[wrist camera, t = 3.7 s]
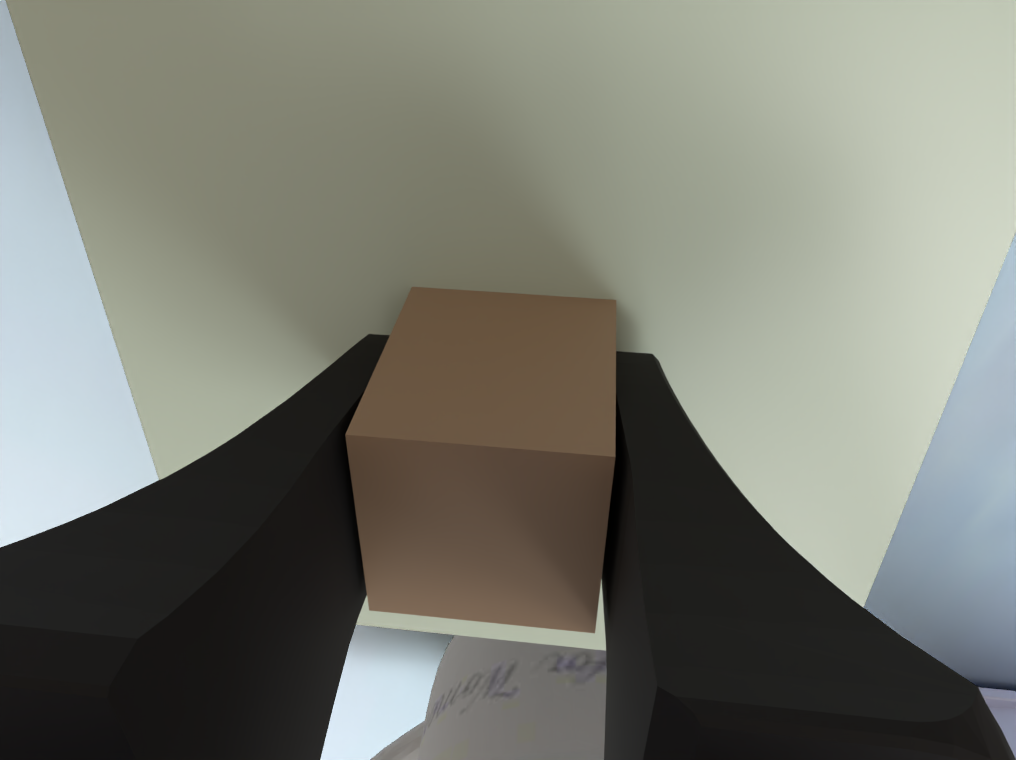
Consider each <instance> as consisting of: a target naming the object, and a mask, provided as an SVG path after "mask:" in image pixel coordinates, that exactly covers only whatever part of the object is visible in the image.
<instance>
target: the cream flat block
mask: <svg viewBox="0 0 1016 760" xmlns="http://www.w3.org/2000/svg"><path fill="white" fill-rule="evenodd" d="M6 3H7V6H8V9H9V12H10V16H11V19H12V22H13V25H14V28H15V31H16V34H17V37H18V41H19V44H20V47H21V50H22V53H23V56H24V59H25V62H26V66H27V69H28V72H29V75H30V78H31V81H32V84H33V87H34V90H35V94H36V97H37V100H38V103H39V106H40V109H41V112H42V115H43V119H44V122H45V125H46V128H47V131H48V134H49V137H50V140H51V144H52V147H53V150H54V153H55V156H56V159H57V162H58V165H59V169H60V172H61V175H62V178H63V181H64V184H65V187H66V190H67V194H68V197H69V200H70V203H71V206H72V209H73V212H74V215H75V218H76V222H77V225H78V228H79V231H80V234H81V237H82V240H83V243H84V247H85V250H86V253H87V256H88V259H89V262H90V265H91V268H92V272H93V275H94V278H95V281H96V284H97V287H98V290H99V293H100V297H101V300H102V303H103V306H104V309H105V312H106V315H107V318H108V321H109V325H110V328H111V331H112V334H113V337H114V340H115V343H116V346H117V350H118V353H119V356H120V359H121V362H122V365H123V368H124V371H125V375H126V378H127V381H128V384H129V387H130V390H131V393H132V396H133V400H134V403H135V406H136V409H137V412H138V415H139V418H140V421H141V425H142V428H143V431H144V434H145V437H146V440H147V443H148V446H149V449H150V453H151V456H152V459H153V462H154V465H155V468H156V471H157V474H158V478H159V480H161V479H163V478H165V477H167V476H169V475H171V474H172V473H174V472H176V471H178V470H180V469H182V468H183V467H185V466H187V465H189V464H190V463H192V462H194V461H195V460H197V459H199V458H201V457H202V456H204V455H206V454H208V453H209V452H211V451H213V450H214V449H216V448H217V447H219V446H221V445H222V444H224V443H226V442H227V441H229V440H230V439H232V438H233V437H235V436H236V435H238V434H239V433H241V432H242V431H244V430H245V429H246V428H248V427H249V426H251V425H252V424H253V423H255V422H256V421H258V420H259V419H260V418H262V417H263V416H265V415H266V414H268V413H269V412H270V411H272V410H273V409H275V408H276V407H277V406H279V405H280V404H282V403H283V402H284V401H286V400H287V399H288V398H290V397H291V396H292V395H294V394H295V393H296V392H297V391H299V390H300V389H301V388H302V387H304V386H305V385H306V384H307V383H309V382H310V381H311V380H312V379H314V378H315V377H316V376H317V375H319V374H320V373H321V372H323V371H324V370H325V369H326V368H327V367H329V366H330V365H331V364H332V363H333V362H335V361H336V360H337V359H338V358H339V357H341V356H342V355H343V354H344V353H345V352H347V351H348V350H349V349H350V348H352V347H353V346H354V345H355V344H356V343H358V342H359V341H360V340H361V339H363V338H364V337H365V336H367V335H368V334H379V335H390V336H389V339H388V341H387V343H386V345H385V347H384V350H383V352H382V354H381V356H380V359H379V361H378V363H377V365H376V367H375V370H374V372H373V374H372V376H371V378H370V381H369V383H368V385H367V387H366V390H365V392H364V394H363V396H362V398H361V401H360V403H359V405H358V407H357V410H356V412H355V414H354V416H353V418H352V421H351V423H350V425H349V427H348V430H347V432H346V434H345V437H346V444H347V451H348V459H349V466H350V473H351V481H352V488H353V496H354V503H355V510H356V518H357V525H358V532H359V540H360V547H361V554H362V562H363V569H364V577H365V584H366V591H367V596H366V599H365V601H364V604H363V606H362V609H361V612H360V614H359V617H358V620H357V623H356V625H363V626H373V627H383V628H392V629H402V630H412V631H421V632H431V633H441V634H450V635H460V636H470V637H479V638H489V639H499V640H508V641H518V642H528V643H537V644H547V645H557V646H566V647H576V648H585V649H595V650H605V651H606V638H605V623H604V609H603V594H602V580H601V577H602V568H603V560H604V551H605V542H606V534H607V525H608V516H609V508H610V499H611V490H612V482H613V473H614V464H615V437H616V351H622V352H636V353H650V354H653V355H654V356H655V357H656V358H657V359H658V360H659V362H660V365H661V367H662V369H663V371H664V373H665V376H666V378H667V380H668V382H669V384H670V386H671V388H672V389H673V391H674V393H675V395H676V397H677V399H678V400H679V402H680V404H681V406H682V407H683V409H684V411H685V412H686V414H687V416H688V417H689V419H690V421H691V422H692V424H693V425H694V427H695V428H696V430H697V431H698V433H699V435H700V436H701V438H702V439H703V441H704V442H705V444H706V445H707V447H708V448H709V450H710V451H711V452H712V454H713V455H714V457H715V458H716V460H717V461H718V462H719V464H720V465H721V466H722V468H723V469H724V470H725V472H726V473H727V474H728V476H729V477H730V478H731V480H732V481H733V482H734V483H735V485H736V486H737V487H738V488H739V490H740V491H741V492H742V493H743V495H744V496H745V497H746V498H747V499H748V501H749V502H750V503H751V504H752V505H753V506H754V508H755V509H756V510H757V511H758V512H759V513H760V514H761V515H762V516H763V517H764V519H765V520H766V521H767V522H768V523H769V524H770V525H771V526H772V527H773V528H774V529H775V531H776V532H777V533H778V534H779V535H780V536H781V537H782V538H783V539H784V540H785V541H786V542H787V543H789V544H790V545H791V546H792V547H793V548H794V549H795V550H796V551H797V552H798V553H799V554H801V555H802V556H803V557H804V558H805V559H806V560H807V561H808V562H809V563H811V564H812V565H813V566H814V567H815V568H816V569H817V570H818V571H819V572H821V573H822V574H823V575H824V576H825V577H826V578H827V579H828V580H830V581H831V582H832V583H833V584H834V585H836V586H837V587H838V588H839V589H840V590H842V591H843V592H844V593H845V594H846V595H848V596H849V597H850V598H851V599H853V600H854V601H855V602H857V603H858V604H859V605H860V606H862V607H864V605H865V602H866V600H867V598H868V595H869V593H870V590H871V588H872V585H873V583H874V580H875V578H876V575H877V573H878V570H879V568H880V566H881V563H882V561H883V558H884V556H885V553H886V551H887V548H888V546H889V543H890V541H891V538H892V536H893V534H894V531H895V529H896V526H897V524H898V521H899V519H900V516H901V514H902V511H903V509H904V506H905V504H906V502H907V499H908V497H909V494H910V492H911V489H912V487H913V484H914V482H915V479H916V477H917V474H918V472H919V469H920V467H921V465H922V462H923V460H924V457H925V455H926V452H927V450H928V447H929V445H930V442H931V440H932V437H933V435H934V433H935V430H936V428H937V425H938V423H939V420H940V418H941V415H942V413H943V410H944V408H945V405H946V403H947V401H948V398H949V396H950V393H951V391H952V388H953V386H954V383H955V381H956V378H957V376H958V373H959V371H960V368H961V366H962V364H963V361H964V359H965V356H966V354H967V351H968V349H969V346H970V344H971V341H972V339H973V336H974V334H975V332H976V329H977V327H978V324H979V322H980V319H981V317H982V314H983V312H984V309H985V307H986V304H987V302H988V300H989V297H990V295H991V292H992V290H993V287H994V285H995V282H996V280H997V277H998V275H999V272H1000V270H1001V268H1002V265H1003V263H1004V260H1005V258H1006V255H1007V253H1008V250H1009V248H1010V245H1011V243H1012V240H1013V238H1014V235H1015V233H1016V0H6Z"/></svg>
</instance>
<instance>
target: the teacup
mask: <svg viewBox="0 0 1016 760" xmlns="http://www.w3.org/2000/svg"><path fill="white" fill-rule="evenodd" d="M606 677H607V668H606V651H605V650H595V649H585V648H576V647H566V646H557V645H547V644H537V643H528V642H518V641H508V640H499V639H489V638H479V637H470V636H460V635H455V636H454V637H453V639H452V640H451V642H450V643H449V645H448V647H447V648H446V651H445V653H444V655H443V658H442V660H441V662H440V664H439V667H438V670H437V673H436V676H435V680H434V683H433V687H432V691H431V695H430V699H429V703H428V708H427V712H426V718H425V721H423V722H422V723H420V724H419V725H417V726H416V727H414V728H413V729H411V730H410V731H408V732H407V733H405V734H404V735H402V736H401V737H399V738H398V739H397V740H395V741H394V742H392V743H391V744H390V745H388V746H387V747H385V748H384V749H383V750H381V751H380V752H379V753H378V754H377V755H375V756H374V757H373V758H372V759H370V760H604V743H605V711H606Z"/></svg>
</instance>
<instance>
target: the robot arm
mask: <svg viewBox="0 0 1016 760" xmlns="http://www.w3.org/2000/svg"><path fill="white" fill-rule="evenodd" d="M389 336H390V335H379V334H368V335H367V336H365V337H364V338H363V339H361V340H360V341H359V342H358V343H356V344H355V345H354V346H353V347H352V348H350V349H349V350H348V351H347V352H345V353H344V354H343V355H342V356H341V357H339V358H338V359H337V360H336V361H335V362H333V363H332V364H331V365H330V366H329V367H327V368H326V369H325V370H324V371H323V372H321V373H320V374H319V375H317V376H316V377H315V378H314V379H312V380H311V381H310V382H309V383H307V384H306V385H305V386H304V387H302V388H301V389H300V390H299V391H297V392H296V393H295V394H294V395H292V396H291V397H290V398H288V399H287V400H286V401H284V402H283V403H282V404H280V405H279V406H277V407H276V408H275V409H273V410H272V411H270V412H269V413H268V414H266V415H265V416H263V417H262V418H260V419H259V420H258V421H256V422H255V423H253V424H252V425H251V426H249V427H248V428H246V429H245V430H244V431H242V432H241V433H239V434H238V435H236V436H235V437H233V438H232V439H230V440H229V441H227V442H226V443H224V444H222V445H221V446H219V447H217V448H216V449H214V450H213V451H211V452H209V453H208V454H206V455H204V456H202V457H201V458H199V459H197V460H195V461H194V462H192V463H190V464H189V465H187V466H185V467H183V468H182V469H180V470H178V471H176V472H174V473H172V474H171V475H169V476H167V477H165V478H163V479H161V480H159V481H157V482H155V483H153V484H150V485H148V486H146V487H144V488H142V489H140V490H138V491H136V492H134V493H132V494H130V495H128V496H126V497H124V498H122V499H120V500H118V501H115V502H113V503H111V504H109V505H107V506H105V507H103V508H101V509H98V510H96V511H94V512H91V513H89V514H86V515H84V516H82V517H79V518H77V519H74V520H72V521H70V522H67V523H65V524H62V525H60V526H57V527H55V528H52V529H49V530H47V531H44V532H42V533H39V534H36V535H34V536H31V537H29V538H26V539H23V540H20V541H18V542H15V543H12V544H9V545H6V546H4V547H1V548H0V760H320V758H321V754H322V750H323V746H324V741H325V737H326V733H327V729H328V725H329V721H330V717H331V713H332V709H333V705H334V701H335V697H336V693H337V689H338V686H339V682H340V678H341V674H342V670H343V666H344V663H345V659H346V655H347V651H348V647H349V644H350V641H351V638H352V635H353V632H354V629H355V626H356V623H357V620H358V617H359V614H360V612H361V609H362V606H363V604H364V601H365V599H366V596H367V591H366V584H365V577H364V569H363V562H362V554H361V547H360V540H359V532H358V525H357V518H356V510H355V503H354V496H353V488H352V481H351V473H350V466H349V459H348V451H347V444H346V437H345V434H346V432H347V430H348V427H349V425H350V423H351V421H352V418H353V416H354V414H355V412H356V410H357V407H358V405H359V403H360V401H361V398H362V396H363V394H364V392H365V390H366V387H367V385H368V383H369V381H370V378H371V376H372V374H373V372H374V370H375V367H376V365H377V363H378V361H379V359H380V356H381V354H382V352H383V350H384V347H385V345H386V343H387V341H388V339H389ZM601 580H602V594H603V609H604V623H605V638H606V668H607V677H606V711H605V743H604V760H1016V691H1011V690H1001V689H991V688H981V687H977V686H976V685H974V684H973V683H971V682H970V681H968V680H967V679H965V678H964V677H962V676H961V675H959V674H958V673H956V672H955V671H953V670H952V669H950V668H949V667H947V666H946V665H944V664H943V663H941V662H940V661H938V660H937V659H935V658H934V657H932V656H931V655H929V654H928V653H926V652H925V651H923V650H921V649H920V648H918V647H917V646H915V645H914V644H912V643H911V642H909V641H908V640H906V639H905V638H903V637H902V636H900V635H899V634H898V633H896V632H895V631H893V630H892V629H891V628H889V627H888V626H887V625H885V624H884V623H883V622H881V621H880V620H879V619H878V618H876V617H875V616H874V615H872V614H871V613H870V612H868V611H867V610H866V609H864V608H863V607H862V606H860V605H859V604H858V603H857V602H855V601H854V600H853V599H851V598H850V597H849V596H848V595H846V594H845V593H844V592H843V591H842V590H840V589H839V588H838V587H837V586H836V585H834V584H833V583H832V582H831V581H830V580H828V579H827V578H826V577H825V576H824V575H823V574H822V573H821V572H819V571H818V570H817V569H816V568H815V567H814V566H813V565H812V564H811V563H809V562H808V561H807V560H806V559H805V558H804V557H803V556H802V555H801V554H799V553H798V552H797V551H796V550H795V549H794V548H793V547H792V546H791V545H790V544H789V543H787V542H786V541H785V540H784V539H783V538H782V537H781V536H780V535H779V534H778V533H777V532H776V531H775V529H774V528H773V527H772V526H771V525H770V524H769V523H768V522H767V521H766V520H765V519H764V517H763V516H762V515H761V514H760V513H759V512H758V511H757V510H756V509H755V508H754V506H753V505H752V504H751V503H750V502H749V501H748V499H747V498H746V497H745V496H744V495H743V493H742V492H741V491H740V490H739V488H738V487H737V486H736V485H735V483H734V482H733V481H732V480H731V478H730V477H729V476H728V474H727V473H726V472H725V470H724V469H723V468H722V466H721V465H720V464H719V462H718V461H717V460H716V458H715V457H714V455H713V454H712V452H711V451H710V450H709V448H708V447H707V445H706V444H705V442H704V441H703V439H702V438H701V436H700V435H699V433H698V431H697V430H696V428H695V427H694V425H693V424H692V422H691V421H690V419H689V417H688V416H687V414H686V412H685V411H684V409H683V407H682V406H681V404H680V402H679V400H678V399H677V397H676V395H675V393H674V391H673V389H672V388H671V386H670V384H669V382H668V380H667V378H666V376H665V373H664V371H663V369H662V367H661V365H660V362H659V360H658V359H657V358H656V357H655V356H654V355H653V354H650V353H636V352H622V351H616V437H615V464H614V473H613V482H612V490H611V499H610V508H609V516H608V525H607V534H606V542H605V551H604V560H603V568H602V577H601Z"/></svg>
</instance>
